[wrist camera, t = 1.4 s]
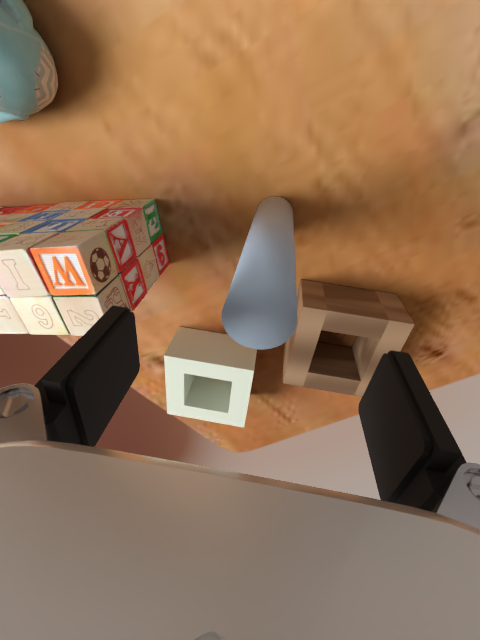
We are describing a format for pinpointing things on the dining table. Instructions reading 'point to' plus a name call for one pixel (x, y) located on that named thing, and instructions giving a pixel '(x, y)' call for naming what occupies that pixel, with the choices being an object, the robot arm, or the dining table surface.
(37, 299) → the stack of blocks
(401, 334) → the brown wooden square ring
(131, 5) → the dining table surface
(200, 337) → the white square hollow block
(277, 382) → the dining table surface
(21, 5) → the teal cartoon creature figurine
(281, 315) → the light blue rod
